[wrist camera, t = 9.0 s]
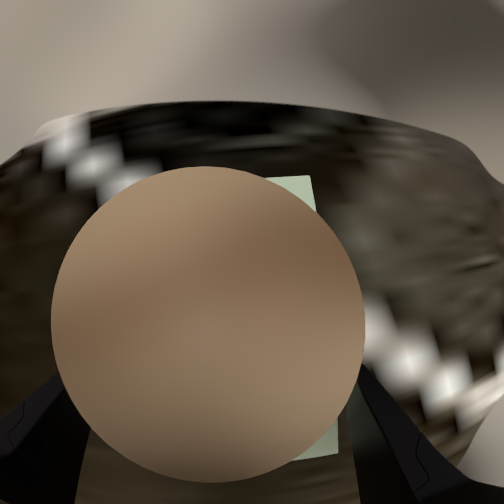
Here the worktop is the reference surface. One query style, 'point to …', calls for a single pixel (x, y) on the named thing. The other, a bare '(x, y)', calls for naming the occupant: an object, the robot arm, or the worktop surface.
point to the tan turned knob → (208, 324)
